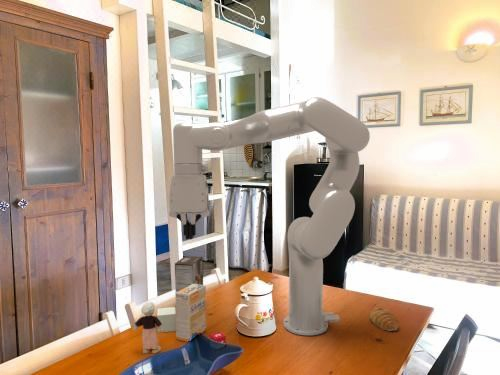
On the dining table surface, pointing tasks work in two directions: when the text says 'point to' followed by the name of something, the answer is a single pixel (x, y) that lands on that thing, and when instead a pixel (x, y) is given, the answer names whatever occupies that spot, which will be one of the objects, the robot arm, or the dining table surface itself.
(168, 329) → the sage block
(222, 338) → the dice
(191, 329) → the supplement box
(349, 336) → the dining table surface
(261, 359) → the dining table surface
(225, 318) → the dining table surface
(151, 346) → the grandmother figurine
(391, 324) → the pastry
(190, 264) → the coffee box
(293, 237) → the robot arm
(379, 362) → the dining table surface
